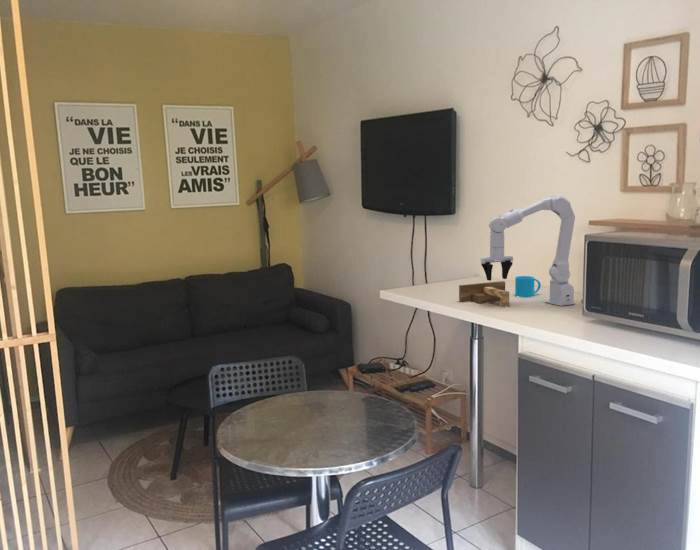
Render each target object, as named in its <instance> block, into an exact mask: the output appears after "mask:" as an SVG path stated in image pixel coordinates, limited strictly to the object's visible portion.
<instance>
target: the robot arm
mask: <svg viewBox="0 0 700 550" xmlns="http://www.w3.org/2000/svg"><path fill="white" fill-rule="evenodd" d="M541 211H551V212H552V213H554V214H556V216H557V217H558V218H559V219H560V221H561V222H560V227H559V234H558V238H557V239H558V240H557V246H556V251H555V257H554V259H553V261H552V265H551V266H550V268H549V270H548V274H549V276H550V277H551V278H550V280H549V300H544V302H545V303H548V304H552V305H556V306H559V307H561V306H569V305H575V304H576V302H574V300H575V299H574V297H575V295H574V293H575V289H574V286H573V285H572V284H570V283H569V279H570V276H571V272H570V263H569V257H570V252H571V251H570V250H571V244H572V237H573V232H574V227H575V221H576V215H575V213H574V210H573V208H572V206H571V202H570V201H569V200H568V199H567V198H566V197H564V196H561V195H560V196H559V195H552V196H550V197H546V198H544V199H540V200H539V201H537V202H534V203H532V204H530V205H529V206H525V207H524V208H522V209H517V208H515V209H514V208H511V209H509V211H508V212H506V213H504V214H499V215H498V217H493V218H491V220H490V221H489V224H488V227H489V229H490V235H489V257H484V258H483V257H482V258H480V264H481V266H482V268H483V271H484V273H485V277H486V281H489V282H492V272H493V266H494V264H492V263H500V266H501V277H502V280H507V279H508V275H509V272H510V269H511V268H512V267H513V261H514V256H511V255H508V256H507V255H505V230H506V229H508V228H510V227H513V226H515V225H518V224H520V223H522V222H523V219H524V218H525V217H528V216H530V215H533V214H536V213H538V212H541Z"/></svg>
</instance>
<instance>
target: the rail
mask: <svg viewBox="0 0 700 550" xmlns="http://www.w3.org/2000/svg"><path fill="white" fill-rule="evenodd" d="M484 294H485V295H487V294H489V295H493V296H496V297H500V301H499V306H500V307H503V308H506V307H505V306H507V307H510V291H508V290H506V289H505V290H501V289H497V288H493V287H484Z"/></svg>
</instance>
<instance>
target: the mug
mask: <svg viewBox="0 0 700 550" xmlns="http://www.w3.org/2000/svg"><path fill="white" fill-rule="evenodd" d="M514 280H515V281H514V282H515V283H514V288H515V290H514V297H517V296H519V297H518V298H533V297H534V296H535V294H536V293H538V292H539V290H540V289H541V287H542V285H541V282H540V281H539V280H538V279H537V278H535V277H534V276H531V275H520V276H519V275H518V276H515V278H514ZM535 282H537V289H536V290H535ZM532 296H533V297H532Z"/></svg>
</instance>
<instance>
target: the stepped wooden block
mask: <svg viewBox="0 0 700 550" xmlns="http://www.w3.org/2000/svg"><path fill="white" fill-rule="evenodd" d="M484 287H493V288H497V289H501V290H505V291H506V280H505V281H504V280H500V281H499V280H498V281H489V282H479V283H477V282H476V283H467V284H459V285H458V301H459V302H461V303H465V302H474V303H477V304H479V303H480V304H487V303H486V302H489V303H497V302H496V301H498V302H500V297H496V296H493V295H489V294H487V295H485V294H484Z"/></svg>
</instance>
